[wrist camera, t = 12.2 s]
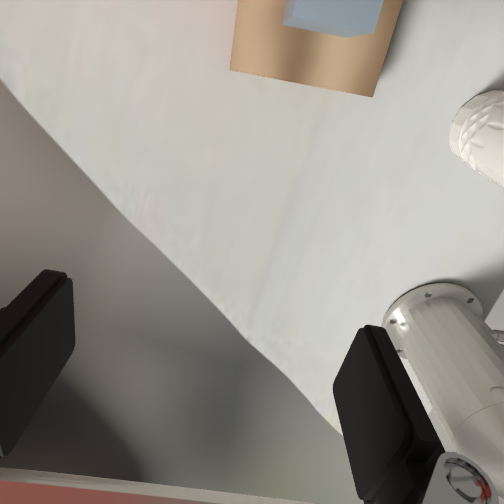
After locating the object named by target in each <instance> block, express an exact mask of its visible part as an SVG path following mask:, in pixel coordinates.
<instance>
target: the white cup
mask: <svg viewBox="0 0 504 504" xmlns="http://www.w3.org/2000/svg"><path fill="white" fill-rule="evenodd" d="M448 140H449V144H450V147H451V151H452V153H453V154H455V155H456V156H457V157H458V158H459V159H460V160H462V161H463V162H465V163H466V164H468V165H469V166H470V167H471V168H472V169H474V170H476V171H477V172H478V173H480V174H481V175H483V176H484V177H486V178H487V179H489V180H491V181H492V182H494V183H496V184H497V185H499V186H501V187H502V188H504V91H498V90H493V91H489V92H486V93H483V94H480V95H477V96H475V97H474V98H473V99H471V100H470V101H469V102H467V103H466V104H465V105H464V106H462V107H461V108H460V110H459V112H458V113H457V115H456V116H455V118H454V119H453V121H452V123H451V127H450V132H449V137H448Z"/></svg>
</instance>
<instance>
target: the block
mask: <svg viewBox="0 0 504 504" xmlns="http://www.w3.org/2000/svg"><path fill="white" fill-rule="evenodd" d="M383 1H384V0H287V1H286V6H285V12H284V17H283V23H282V25H285V26H290V27H295V28H300V29H305V30H310V31H315V32H320V33H324V34H329V35H334V36H339V37H344V38H348V37H354V36H359V35H365V34H371V33H374V32H375V28H376V25H377V22H378V18H379V15H380V11H381V8H382V4H383Z"/></svg>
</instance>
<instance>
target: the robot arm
mask: <svg viewBox="0 0 504 504" xmlns="http://www.w3.org/2000/svg"><path fill="white" fill-rule="evenodd" d="M497 341H501V342H504V331H500V330H491V329H490V328H489V327H488V325H487V324H486V323H485V322H484V321H483V308H482V305H481V303H480V301H479V300H478V298H477V297H476V296H475V295H474V294H473V293H472V292H471V291H469V290H468V289H466V288H465V287H462V286H459V285H456V284H450V283H436V284H430V285H425V286H422V287H419V288H416V289H414V290H412V291H410V292H408V293H407V294H405V295H404V296H402V297H401V298H399V299H398V300H397V301H396V302H395V303H394V304H393V305H392V306H391V307H390V309H389V310H388V311H387V313H386V315H385V317H384V320H383V323H382V327H378V326H373V325H365V326H364V328H360V329H359V330H358V332H357V334H356V336H355V338H354V340H353V342H352V344H351V346H350V349H349V351H348V353H347V355H346V357H345V359H344V361H343V363H342V366H341V368H340V370H339V372H338V374H337V376H336V378H335V380H334V383H333V394H334V399H335V403H336V407H337V411H338V415H339V420H340V424H341V428H342V432H343V436H344V440H345V445H346V449H347V453H348V457H349V462H350V466H351V470H352V474H353V478H354V482H355V487H356V491H357V494H358V497H359V498H360V499H361V500H363V501H364V504H499V501H498V495H499V496H500V497H502V498H504V345H503V344H499V343H498V342H497ZM74 347H75V324H74V303H73V282H72V279H70V278H67V275H66V273H64V272H59V271H53V270H47V269H46V270H43V271H42V272H41V273H40V274H39V275H38V276H37V277H36V278H35V279H34V280H33V281H32V282H31V283H30V284H29V285H28V286H27V287H26V288H25V289H24V290H23V291H22V292H21V293H20V294H19V295H18V296H17V297H16V298H15V299H14V300H13V301H12V302H11V303H10V304H9V305H8V306H7V307H4V308H1V309H0V458H1V456H4V457H5V456H7V455H8V454H9V453H10V452H11V451H12V449H13V448H14V446H15V445H16V443H17V441H18V440H19V438H20V436H21V435H22V433H23V432H24V430H25V428H26V427H27V425H28V424H29V422H30V420H31V418H32V417H33V416H34V414H35V412H36V411H37V409H38V407H39V406H40V404H41V403H42V401H43V399H44V398H45V396H46V395H47V393H48V391H49V390H50V388H51V386H52V384H53V383H54V382H55V380H56V378H57V377H58V375H59V374H60V372H61V370H62V368H63V367H64V366H65V364H66V362H67V361H68V359H69V357H70V356H71V354H72V352H73V350H74ZM399 356H400V357H402V358H405V359H408V361H409V363H410V365H411V367H412V369H413V371H414V372H415V374H416V376H417V378H418V380H419V382H420V384H421V386H422V388H423V390H424V392H425V394H426V395H427V397H428V399H429V401H430V403H431V405H432V407H433V409H434V411H435V413H436V415H437V417H438V418H439V420H440V422H441V424H442V426H443V428H444V430H445V432H446V434H447V436H448V438H449V439H450V441H451V443H452V445H453V447H454V449H455V451H456V452H445V450H444V448H443V446H442V443H441V441H440V439H439V437H438V435H437V433H436V431H435V429H434V427H433V425H432V423H431V421H430V419H429V417H428V415H427V413H426V411H425V409H424V406H423V404H422V402H421V400H420V398H419V396H418V394H417V392H416V390H415V388H414V386H413V384H412V382H411V380H410V378H409V376H408V374H407V372H406V370H405V368H404V366H403V364H402V362H401V359H400V357H399ZM0 504H316V503H308V502H300V501H292V500H283V499H276V498H268V497H260V496H251V495H243V494H235V493H226V492H218V491H210V490H201V489H192V488H184V487H176V486H167V485H158V484H150V483H141V482H132V481H124V480H114V479H105V478H96V477H88V476H79V475H70V474H61V473H53V472H42V471H32V470H20V469H10V468H0Z"/></svg>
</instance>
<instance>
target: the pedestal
mask: <svg viewBox="0 0 504 504" xmlns="http://www.w3.org/2000/svg"><path fill="white" fill-rule="evenodd" d="M286 1H287V0H238V5H237V13H236V21H235V30H234V38H233V46H232V54H231V62H230V70H232V71H237V72H242V73H247V74H253V75H258V76H263V77H268V78H274V79H279V80H284V81H289V82H295V83H300V84H305V85H310V86H316V87H321V88H326V89H331V90H337V91H342V92H347V93H352V94H358V95H363V96H368V97H373V95H374V91H375V88H376V85H377V82H378V79H379V75H380V72H381V69H382V66H383V63H384V60H385V56H386V53H387V50H388V47H389V44H390V40H391V37H392V34H393V31H394V28H395V25H396V21H397V18H398V15H399V12H400V9H401V5H402V2H403V0H384V1H383V4H382V8H381V11H380V15H379V18H378V22H377V25H376V28H375V32H374V33H371V34H365V35H359V36H354V37H348V38H344V37H339V36H334V35H329V34H324V33H320V32H315V31H310V30H305V29H300V28H295V27H290V26H285V25H282V23H283V17H284V12H285V6H286Z"/></svg>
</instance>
